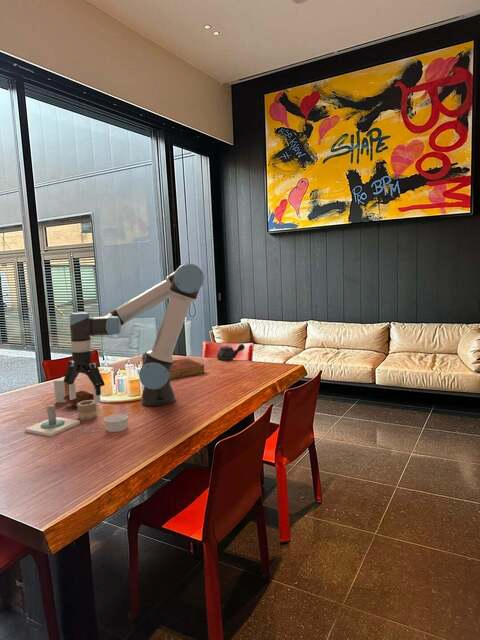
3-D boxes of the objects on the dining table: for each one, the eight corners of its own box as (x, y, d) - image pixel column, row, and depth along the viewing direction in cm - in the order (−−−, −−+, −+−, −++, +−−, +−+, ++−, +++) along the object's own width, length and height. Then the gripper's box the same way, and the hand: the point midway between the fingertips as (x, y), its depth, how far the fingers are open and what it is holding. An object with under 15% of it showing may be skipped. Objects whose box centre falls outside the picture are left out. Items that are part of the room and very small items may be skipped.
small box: (66, 403, 198) (64, 380, 197) (55, 402, 199) (53, 380, 198) (76, 397, 206) (74, 376, 205) (65, 397, 207) (63, 376, 206)
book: (188, 366, 264) (187, 358, 264) (205, 373, 244) (204, 365, 243) (141, 374, 249) (140, 365, 249) (155, 382, 229) (154, 373, 228)
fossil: (101, 396, 195) (86, 380, 191) (92, 409, 188) (77, 394, 184) (82, 403, 200) (67, 388, 196) (73, 416, 194) (58, 401, 190)
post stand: (80, 423, 170) (78, 402, 169) (50, 436, 158) (48, 413, 157) (55, 419, 177) (53, 398, 176) (25, 431, 164) (22, 409, 163)
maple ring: (100, 414, 180) (99, 401, 179) (87, 420, 173) (86, 406, 173) (87, 413, 183) (86, 399, 182) (74, 418, 176) (73, 404, 176)
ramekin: (109, 424, 168) (108, 414, 168) (131, 424, 168) (130, 413, 167) (101, 433, 159) (100, 422, 159) (124, 433, 159) (123, 421, 158)
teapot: (213, 361, 271) (213, 346, 270) (219, 356, 286) (218, 341, 285) (243, 361, 268) (242, 346, 267) (247, 356, 283) (246, 341, 282)
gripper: (111, 350, 172) (114, 401, 175) (66, 346, 183) (70, 395, 186) (98, 354, 166) (101, 407, 168) (52, 350, 177) (56, 400, 179)
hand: (85, 401), depth 177 cm, fingers open, 13 cm apart
